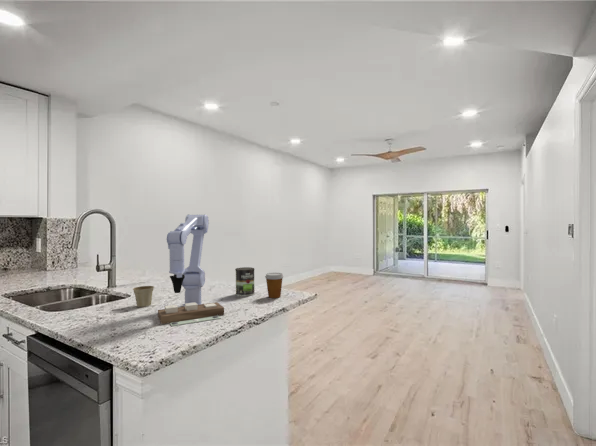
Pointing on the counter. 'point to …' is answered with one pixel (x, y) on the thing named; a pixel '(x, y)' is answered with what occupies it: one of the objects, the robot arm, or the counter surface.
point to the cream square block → (171, 309)
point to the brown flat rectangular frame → (190, 313)
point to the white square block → (210, 305)
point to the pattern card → (194, 320)
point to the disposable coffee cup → (274, 284)
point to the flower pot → (143, 295)
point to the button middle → (191, 306)
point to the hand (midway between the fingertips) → (177, 292)
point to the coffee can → (245, 281)
